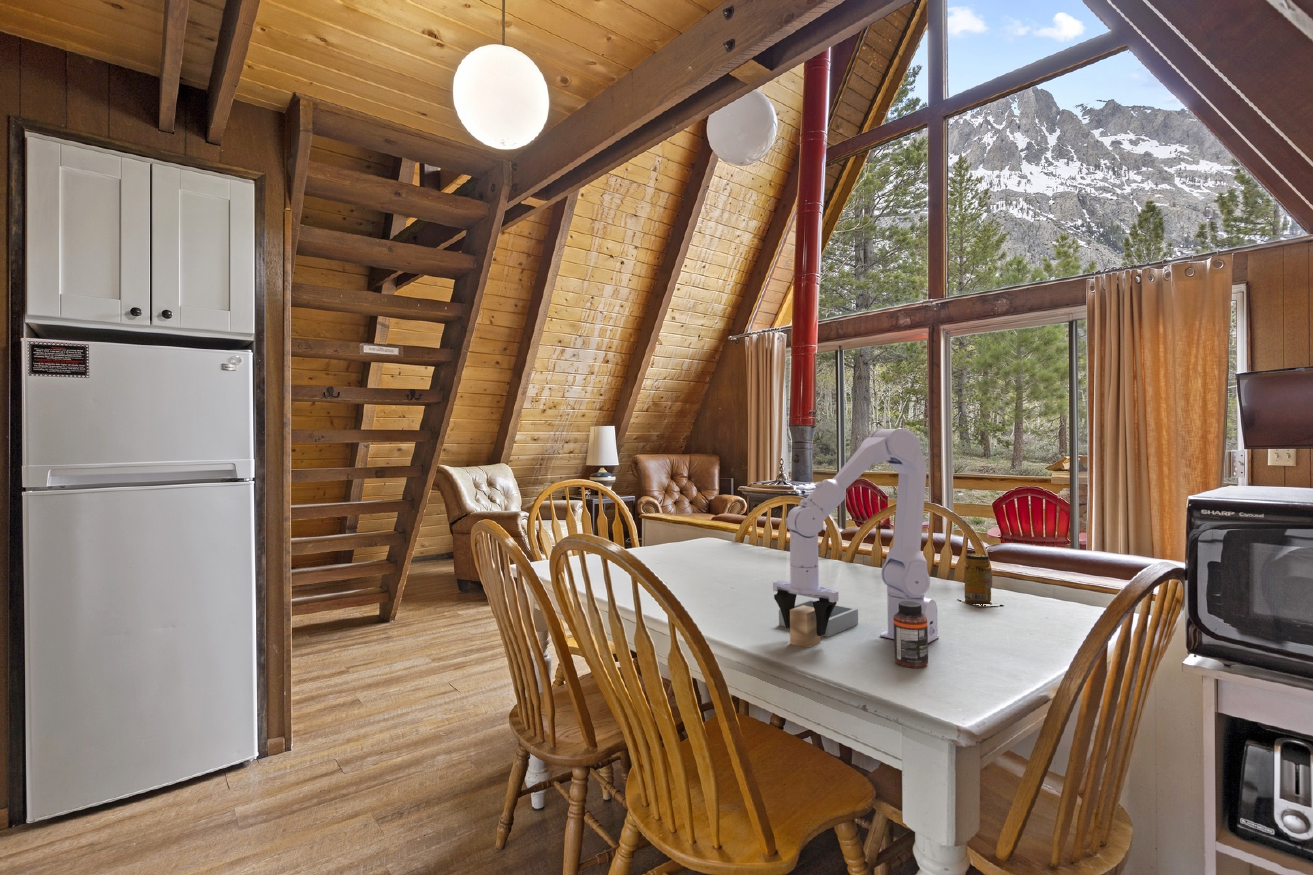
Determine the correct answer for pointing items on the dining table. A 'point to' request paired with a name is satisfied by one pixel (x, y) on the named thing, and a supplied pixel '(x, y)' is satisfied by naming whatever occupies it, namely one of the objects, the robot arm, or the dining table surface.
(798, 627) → the carton
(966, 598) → the condiment
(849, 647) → the dining table surface
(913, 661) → the supplement bottle
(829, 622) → the tray
